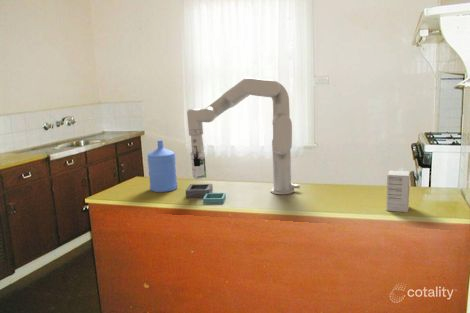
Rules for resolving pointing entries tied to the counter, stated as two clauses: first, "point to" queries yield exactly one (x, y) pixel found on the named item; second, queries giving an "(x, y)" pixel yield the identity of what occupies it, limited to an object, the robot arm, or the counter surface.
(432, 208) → the counter surface
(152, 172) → the water jug
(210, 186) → the grey square tray
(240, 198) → the counter surface
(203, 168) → the syrup box
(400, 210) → the supplement box
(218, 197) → the teal square tray
